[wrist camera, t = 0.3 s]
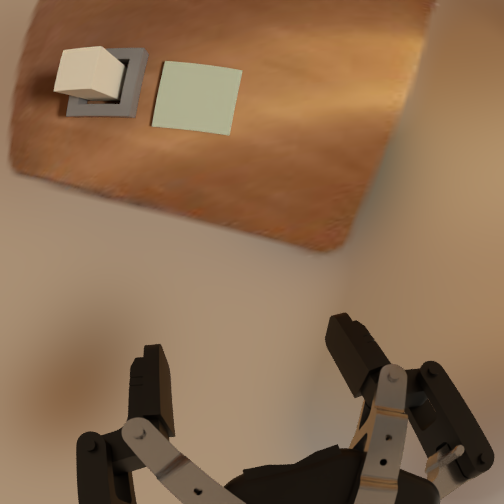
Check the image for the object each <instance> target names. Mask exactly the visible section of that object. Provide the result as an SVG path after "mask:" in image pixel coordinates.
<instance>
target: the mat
mask: <svg viewBox="0 0 504 504" xmlns="http://www.w3.org/2000/svg"><path fill="white" fill-rule="evenodd" d="M241 75H242V70H237V69H231V68H225V67H218V66H211V65H203V64H194V63H184V62H171V61H165V64H164V68H163V72H162V76H161V81H160V86H159V90H158V95H157V100H156V105H155V111H154V116H153V122H152V127H164V128H175V129H185V130H193V131H201V132H209V133H216V134H223V135H230V130H231V125H232V119H233V114H234V109H235V104H236V99H237V94H238V90H239V85H240V80H241Z"/></svg>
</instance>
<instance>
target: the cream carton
mask: <svg viewBox="0 0 504 504" xmlns="http://www.w3.org/2000/svg"><path fill="white" fill-rule="evenodd" d="M127 69H128V68H127V67H126V66H125V65H123V64H122V63H121V62H120V61H119V60H118V59H116V58H115V57H114V56H113V55H112V54H110V53H109V52H108V51H107V50H106V49H104V48H103V47H102V46H97V47H86V48H77V49H69V50H63V54H62V57H61V61H60V65H59V69H58V73H57V77H56V82H55V87H54V92H58V93H63V94H67V95H71V96H75V97H79V98H83V99H87V100H90V101H121V96H122V91H123V86H124V82H125V77H126V73H127Z"/></svg>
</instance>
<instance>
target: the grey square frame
mask: <svg viewBox="0 0 504 504" xmlns="http://www.w3.org/2000/svg"><path fill="white" fill-rule="evenodd" d="M106 50H107V51H108V52H109V53H110V54H112V55H113V56H114V57H115V58H116V59H118V60H119V61H120V62H121V63H122V64H128V69H127V73H126V77H125V82H124V86H123V91H122V96H121V101H120V104H87V101H88V100H87V99H83V98H79V97H75V96H71V95H70V96H69V101H68V107H67V113H66V116H67V117H125V118H135V117H136V111H137V105H138V100H139V95H140V90H141V85H142V81H143V76H144V72H145V68H146V64H147V60H148V56H149V54H148V52H147V51H146V50H145V48H112V49H106Z"/></svg>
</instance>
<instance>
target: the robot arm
mask: <svg viewBox="0 0 504 504" xmlns="http://www.w3.org/2000/svg"><path fill="white" fill-rule="evenodd" d="M325 342H326V346H327V348H328V350H329V352H330V354H331V356H332V357H333V359H334V361H335V363H336V365H337V366H338V368H339V370H340V372H341V374H342V376H343V377H344V379H345V381H346V383H347V385H348V387H349V389H350V390H351V392H352V394H353V395H354V398H357V397H359V396H363V397H364V401H363V404H362V409H361V413H360V417H359V421H358V425H357V429H356V432H355V435H354V437H353V439H352V441H351V444H350V446H349V449H347V448H344V449H343V448H341V449H339V446H338V444H337V445H334V446H331V447H329V448H326V449H323V450H320V451H317V452H315V453H313V454H311V455H309V456H308V457H306V458H304V459H303V460H301V461H299V462H297V463H295V464H287V465H265V466H260V467H255V468H250V469H244V470H243V474H242V475H239V476H238V477H236V478H234V479H232V480H231V481H230V482H228V483H227V484H226V485H225V486H224V487H222V486H221V485H220V484H219V483H217V482H216V481H214V480H213V479H212V478H211V477H209V476H208V475H207V474H206V473H205V472H204V471H202V470H201V469H200V468H199V467H198V466H197V465H195V464H194V463H193V462H192V461H191V460H190V459H188V458H187V457H186V456H184V455H183V454H182V453H181V452H179V451H178V450H177V449H176V448H175V447H174V446H173V445H172V444H171V443H170V442H169V437H175V430H174V419H173V408H172V394H171V377H170V369H169V365H168V362H167V359H166V357H165V354H164V351H163V349H162V346H161V344H155V345H145V346H144V357H140V358H135V360H134V362H133V364H132V365H131V368H130V383H129V385H130V387H129V406H128V419H127V421H126V423H125V424H124V426H123V427H122V428H120V429H119V430H117V431H114V432H111V433H108V434H105V435H100V434H98V433H96V432H86V433H83V434H82V435H81V436H80V437H79V438H78V440H77V447H76V456H77V458H76V459H77V487H78V500H79V504H137V503H136V497H135V492H134V485H133V477H132V471H134V470H137V469H141V468H144V467H148V468H149V469H150V471H152V473H153V474H154V475H155V476H156V477H157V479H158V480H159V481H160V482H161V483H162V484H163V485H164V486H165V487H166V488H167V489H168V490H169V491H170V492H171V493H172V494H173V495H174V496H175V497H176V498H177V499H179V500H180V501H181V502H182V503H183V504H440V500H441V499H442V498H444V497H445V496H447V495H448V494H450V493H451V492H452V491H454V490H455V489H457V488H458V487H459V486H461V485H462V484H464V483H466V482H468V481H469V480H471V479H473V478H475V477H477V476H479V475H480V474H482V473H484V472H485V471H487V470H489V469H490V468H491V466H492V464H493V462H494V452H493V450H492V448H491V446H490V444H489V442H488V440H487V439H486V437H485V435H484V433H483V431H482V430H481V428H480V426H479V425H478V423H477V421H476V419H475V418H474V416H473V414H472V413H471V411H470V409H469V408H468V406H467V405H466V403H465V401H464V399H463V398H462V397H461V395H460V393H459V392H458V390H457V388H456V387H455V385H454V384H453V383H452V381H451V379H450V378H449V376H448V375H447V373H446V372H445V370H444V369H443V367H442V366H441V365H440V364H438V363H437V362H434V361H427V362H425V363H423V365H422V366H421V368H420V369H411V370H404V369H403V368H402V367H400V366H398V365H396V364H391V363H390V361H389V360H388V359H387V357H386V356H385V354H384V353H383V351H382V350H381V348H380V347H379V346H378V344H377V343H376V342H375V341H374V338H373V337H372V336H371V335H370V333H369V331H368V330H367V329H366V327H365V326H364V325H362V324H361V323H360V322H358V321H352V320H351V318H350V317H349V315H348V314H347V313H341V314H337V315H333V316H331V317H330V320H329V324H328V328H327V333H326V336H325ZM428 399H429V400H428ZM432 406H433V407H432ZM404 412H405V413H404ZM408 420H409V422H410V423H411V425H412V427H413V429H414V431H415V433H416V435H417V437H418V439H419V441H420V443H421V445H422V447H423V449H424V451H425V453H426V455H427V457H428V460H427V463H426V468H425V473H426V474H427V479H425V478H422V477H419V476H416V475H414V474H412V473H409V472H407V471H404V470H402V469H400V465H401V460H402V455H403V450H404V443H405V437H406V430H407V423H408Z"/></svg>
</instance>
